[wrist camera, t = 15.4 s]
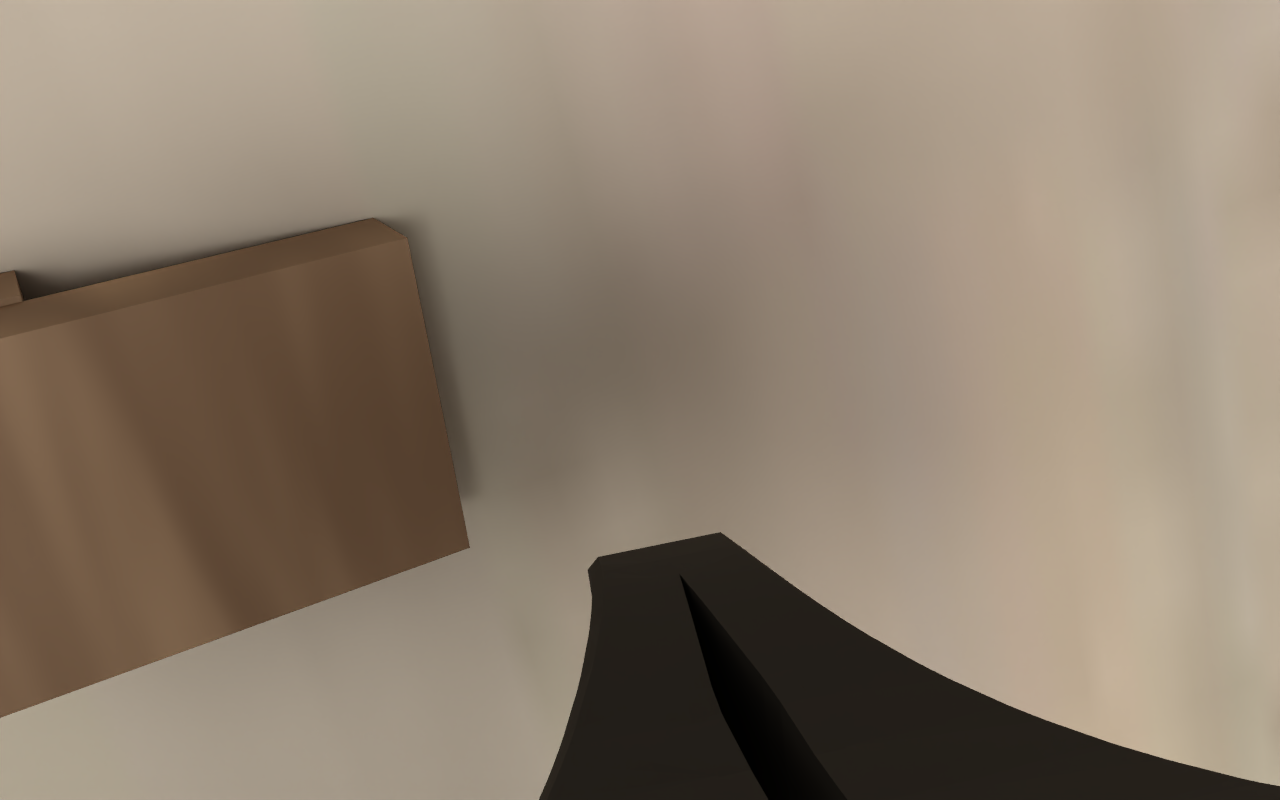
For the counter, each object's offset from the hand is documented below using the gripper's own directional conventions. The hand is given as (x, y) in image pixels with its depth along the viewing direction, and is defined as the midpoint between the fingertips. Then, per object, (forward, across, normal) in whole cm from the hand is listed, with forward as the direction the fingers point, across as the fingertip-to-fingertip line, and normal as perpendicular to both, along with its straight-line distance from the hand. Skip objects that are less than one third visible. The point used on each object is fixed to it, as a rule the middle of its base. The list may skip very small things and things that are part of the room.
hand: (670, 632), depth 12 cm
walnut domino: (+8, +2, 0) cm, 8 cm away
